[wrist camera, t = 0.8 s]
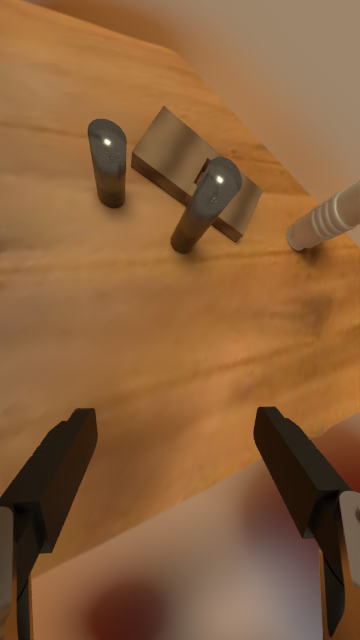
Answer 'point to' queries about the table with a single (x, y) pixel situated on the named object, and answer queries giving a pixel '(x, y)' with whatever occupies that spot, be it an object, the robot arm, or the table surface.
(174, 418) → the table surface
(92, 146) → the short pin
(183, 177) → the hole plate
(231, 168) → the tall pin
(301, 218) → the white ribbed cylinder
